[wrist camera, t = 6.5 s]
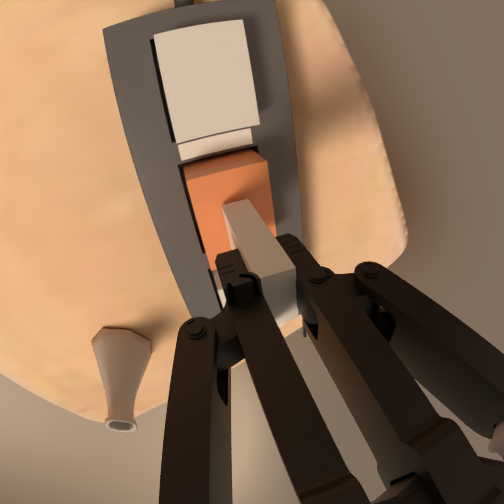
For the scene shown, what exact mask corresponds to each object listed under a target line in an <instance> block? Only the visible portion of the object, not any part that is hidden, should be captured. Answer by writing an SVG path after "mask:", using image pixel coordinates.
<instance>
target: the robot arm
mask: <svg viewBox="0 0 504 504" xmlns="http://www.w3.org/2000/svg"><path fill="white" fill-rule="evenodd" d="M221 207H222V211H223V215H224V220H225V224H226V229H227V233H228V237H229V242H230V246H231V249H232V250H230V251H227V252H223V253H220V254H217V256H216V259H215V264H216V268H217V271H218V275H219V278H220V282H221V285H222V288H223V292H224V295H225V298H226V303H225V306H224V308H223V310H222V311H221V312H220V313H219V314H217V315H216V316H214V317H213V318H211V319H208V318H206V317H194V318H191V319H189V320H187V321H186V322H184V324H183V325H182V326H181V327H180V329H179V332H178V337H177V343H176V349H175V355H174V362H173V368H172V375H171V382H170V390H169V397H168V405H167V414H166V422H165V431H164V440H163V451H162V463H161V475H160V491H159V504H232V462H231V367H232V366H233V365H235V364H236V363H238V362H240V361H241V360H243V359H244V358H245V360H246V363H247V366H248V369H249V372H250V375H251V378H252V380H253V383H254V386H255V389H256V392H257V394H258V397H259V400H260V403H261V406H262V408H263V411H264V414H265V417H266V419H267V422H268V425H269V427H270V430H271V432H272V435H273V438H274V440H275V443H276V446H277V448H278V451H279V453H280V456H281V458H282V461H283V464H284V466H285V468H286V471H287V473H288V476H289V478H290V481H291V483H292V485H293V488H294V491H295V493H296V495H297V497H298V500H299V503H300V504H504V462H502V461H498V460H493V459H488V458H484V457H479V456H477V454H476V453H475V451H474V449H473V448H472V446H471V445H470V443H469V441H468V440H467V438H466V436H465V435H464V433H463V432H462V430H461V429H460V427H459V426H458V425H457V423H456V422H455V421H453V420H451V419H449V418H443V417H441V416H439V414H438V413H437V412H436V411H435V409H434V408H433V406H432V404H431V403H430V402H429V400H428V399H427V397H426V396H425V394H424V393H423V391H422V390H421V388H420V387H419V385H418V384H417V382H416V381H415V380H414V379H416V380H417V381H418V382H419V383H420V384H421V385H422V386H423V387H425V388H426V389H427V390H428V391H429V392H430V393H431V394H432V395H434V396H435V397H436V398H437V399H438V400H439V401H440V402H441V403H443V404H444V405H445V406H446V407H447V408H448V409H449V410H450V411H451V412H453V413H454V414H455V415H456V416H457V417H458V418H459V419H460V420H461V421H462V422H464V423H465V424H466V425H467V426H468V427H470V428H471V429H472V430H473V431H475V432H476V433H478V434H480V435H481V436H483V437H486V438H488V439H491V440H490V441H489V443H488V450H489V451H490V452H491V453H495V452H496V453H498V454H499V455H500V456H502V458H503V460H504V354H503V353H501V352H500V351H499V350H498V349H497V348H495V347H494V346H493V345H492V344H490V343H489V342H488V341H487V340H485V339H484V338H483V337H482V336H480V335H479V334H478V333H476V332H475V331H474V330H473V329H471V328H470V327H469V326H467V325H466V324H465V323H463V322H462V321H461V320H459V319H458V318H457V317H455V316H454V315H453V314H451V313H450V312H449V311H447V310H446V309H444V308H443V307H442V306H440V305H439V304H438V303H436V302H435V301H433V300H432V299H430V298H429V297H428V296H426V295H425V294H423V293H422V292H420V291H419V290H418V289H416V288H415V287H413V286H412V285H410V284H409V283H407V282H406V281H405V280H403V279H401V278H400V277H399V276H397V275H396V274H394V273H393V272H391V271H390V270H388V269H387V268H385V267H384V266H382V265H380V264H378V263H376V262H370V261H369V262H363V263H360V264H358V265H357V266H356V267H355V271H354V273H348V274H335V273H334V272H333V271H332V270H330V269H329V268H326V267H323V266H320V265H319V264H318V263H317V261H316V260H315V259H314V258H313V256H312V255H311V254H310V253H309V251H308V250H306V248H305V246H304V245H302V243H301V241H300V240H299V239H298V238H297V237H296V236H294V235H292V234H290V233H287V234H284V235H280V236H277V237H274V235H273V234H272V232H271V231H270V229H269V228H268V227H267V225H266V224H265V222H264V221H263V219H262V218H261V217H260V215H259V214H258V212H257V211H256V210H255V208H254V207H253V205H252V204H251V202H250V201H249V200H248V199H244V200H240V201H236V202H232V203H229V204H225V205H221ZM380 306H381V307H382V308H381V307H380ZM298 309H299V311H300V313H301V315H302V320H303V335H304V337H306V331H307V333H308V335H309V337H310V339H311V341H312V342H313V344H314V346H315V348H316V350H317V351H318V353H319V355H320V357H321V359H322V360H323V362H324V364H325V366H326V368H327V370H328V371H329V373H330V375H331V377H332V379H333V381H334V382H335V384H336V386H337V388H338V390H339V391H340V393H341V395H342V397H343V399H344V401H345V403H346V405H347V406H348V408H349V410H350V412H351V414H352V416H353V417H354V419H355V421H356V423H357V425H358V427H359V429H360V430H361V432H362V434H363V436H364V438H365V440H366V442H367V443H368V445H369V447H370V449H371V451H372V453H373V455H374V457H375V459H376V461H377V470H378V473H379V475H380V478H381V480H382V482H383V483H384V485H385V487H386V489H387V490H386V491H385V492H384V493H383V494H382V495H381V496H379V497H378V498H377V499H376V500H374V501H373V502H370V501H369V499H368V497H367V495H366V493H365V491H364V489H363V488H362V486H361V484H360V483H359V481H358V480H357V479H356V477H354V476H353V475H352V474H351V473H350V471H349V470H348V468H347V466H346V465H345V462H344V461H343V458H342V457H341V454H340V452H339V450H338V448H337V446H336V444H335V442H334V440H333V438H332V436H331V434H330V432H329V430H328V428H327V426H326V424H325V422H324V420H323V418H322V416H321V414H320V412H319V410H318V408H317V406H316V404H315V401H314V400H313V398H312V395H311V393H310V391H309V389H308V387H307V385H306V383H305V381H304V379H303V377H302V375H301V373H300V371H299V369H298V366H297V364H296V363H295V360H294V358H293V356H292V354H291V352H290V350H289V348H288V346H287V344H286V342H285V340H284V337H283V335H282V333H281V331H280V329H279V327H278V325H277V324H280V323H283V322H286V321H289V320H292V319H294V318H297V317H298Z"/></svg>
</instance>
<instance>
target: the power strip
mask: <svg viewBox="0 0 504 504" xmlns="http://www.w3.org/2000/svg"><path fill="white" fill-rule="evenodd" d="M174 3H175V8H173V9H168V10H164V11H160V12H156V13H152V14H148V15H144V16H141V17H137V18H134V19H130V20H127V21H124V22H121V23H118V24H115V25H112V26H110V27H107V28H104V29H103V36H104V42H105V47H106V53H107V58H108V63H109V68H110V73H111V78H112V83H113V87H114V92H115V96H116V100H117V104H118V108H119V112H120V116H121V120H122V124H123V128H124V131H125V135H126V139H127V142H128V146H129V149H130V153H131V156H132V159H133V163H134V166H135V169H136V172H137V176H138V179H139V182H140V185H141V188H142V191H143V194H144V197H145V200H146V203H147V206H148V209H149V212H150V215H151V217H152V220H153V223H154V226H155V229H156V231H157V234H158V237H159V239H160V242H161V245H162V247H163V250H164V252H165V255H166V258H167V260H168V263H169V265H170V268H171V270H172V273H173V275H174V278H175V280H176V282H177V285H178V287H179V290H180V292H181V294H182V297H183V299H184V301H185V303H186V306H187V308H188V310H189V313H190V315H191V317H192V318H194V317H206V318H208V319H211V318H213V317H214V316H216V315H217V314H219V313H220V312H221V311H222V310H223V306H222V303H221V299H220V296H219V293H218V290H217V286H216V283H215V279H214V276H213V272H212V271H211V268H210V264H209V261H208V258H207V254H206V251H205V248H204V244H203V241H202V237H201V234H200V230H199V227H198V223H197V220H196V216H195V213H194V209H193V205H192V202H191V198H190V194H189V191H188V187H187V183H186V179H185V174H184V168H183V163H186V162H190V161H193V160H197V159H201V158H205V157H209V156H213V155H217V154H221V153H225V152H229V151H234V150H238V149H243V148H247V147H249V148H251V149H252V150H253V151H255V152H256V153H257V154H259V155H260V156H261V157H263V158H264V159H265V160H266V161H267V164H268V172H269V179H270V187H271V195H272V202H273V210H274V219H275V227H276V235H277V236H280V235H284V234H287V233H290V234H292V235H294V236H296V237H297V238H298V239H299V240H300V241H301V243H302V245H303V237H302V220H301V205H300V191H299V178H298V167H297V156H296V146H295V136H294V127H293V118H292V109H291V101H290V93H289V86H288V78H287V71H286V64H285V58H284V51H283V45H282V39H281V33H280V27H279V21H278V16H277V10H276V5H275V0H224V1H215V2H208V3H201V4H193V0H174ZM242 19H243V24H244V30H245V35H246V41H247V47H248V52H249V58H250V64H251V70H252V76H253V83H254V89H255V95H256V102H257V108H258V115H259V121H260V125H255V126H249V127H244V128H239V129H234V130H230V131H225V132H220V133H216V134H212V135H208V136H203V137H199V138H195V139H192V140H188V141H184V142H180V143H176V139H175V135H174V131H173V126H172V122H171V118H170V113H169V109H168V105H167V100H166V95H165V91H164V86H163V81H162V77H161V72H160V67H159V62H158V57H157V52H156V46H155V41H154V35H155V34H159V33H163V32H167V31H171V30H176V29H180V28H185V27H190V26H196V25H202V24H208V23H215V22H223V21H231V20H242ZM300 314H301V313H300V311H299V309H298V315H300Z"/></svg>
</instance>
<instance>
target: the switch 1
mask: <svg viewBox="0 0 504 504" xmlns="http://www.w3.org/2000/svg"><path fill="white" fill-rule="evenodd" d="M154 41H155V46H156V52H157V57H158V62H159V67H160V72H161V77H162V81H163V86H164V91H165V95H166V100H167V105H168V109H169V113H170V118H171V122H172V126H173V131H174V135H175V139H176V143H180V142H184V141H188V140H192V139H195V138H199V137H203V136H208V135H212V134H216V133H220V132H225V131H230V130H234V129H239V128H244V127H249V126H255V125H260V121H259V115H258V108H257V102H256V95H255V89H254V83H253V76H252V70H251V64H250V58H249V52H248V47H247V41H246V35H245V30H244V24H243V19H242V20H231V21H223V22H215V23H208V24H202V25H196V26H190V27H185V28H180V29H176V30H171V31H167V32H163V33H159V34H155V35H154Z"/></svg>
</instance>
